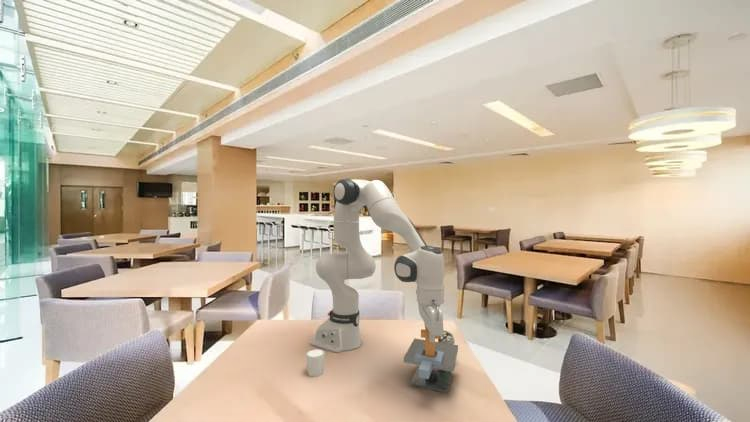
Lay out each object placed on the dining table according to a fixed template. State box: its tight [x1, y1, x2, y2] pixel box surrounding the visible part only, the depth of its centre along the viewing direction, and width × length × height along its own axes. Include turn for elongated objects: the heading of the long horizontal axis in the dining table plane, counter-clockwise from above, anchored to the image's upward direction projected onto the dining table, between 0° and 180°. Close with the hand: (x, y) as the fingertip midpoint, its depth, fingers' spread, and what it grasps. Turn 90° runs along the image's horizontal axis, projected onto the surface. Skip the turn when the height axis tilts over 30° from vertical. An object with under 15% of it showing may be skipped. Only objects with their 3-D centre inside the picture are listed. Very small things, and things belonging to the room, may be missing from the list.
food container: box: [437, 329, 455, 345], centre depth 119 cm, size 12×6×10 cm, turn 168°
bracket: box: [414, 348, 444, 379], centre depth 98 cm, size 8×13×3 cm, turn 160°
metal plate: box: [403, 338, 459, 395], centre depth 106 cm, size 16×16×10 cm
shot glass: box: [305, 348, 326, 377], centre depth 110 cm, size 7×7×7 cm
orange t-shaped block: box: [420, 329, 440, 358], centre depth 101 cm, size 6×3×8 cm, turn 81°
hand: (429, 338), depth 101 cm, fingers closed on orange t-shaped block, 3 cm apart
